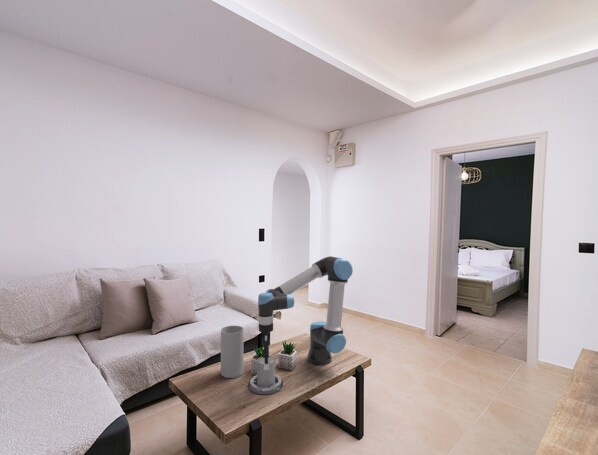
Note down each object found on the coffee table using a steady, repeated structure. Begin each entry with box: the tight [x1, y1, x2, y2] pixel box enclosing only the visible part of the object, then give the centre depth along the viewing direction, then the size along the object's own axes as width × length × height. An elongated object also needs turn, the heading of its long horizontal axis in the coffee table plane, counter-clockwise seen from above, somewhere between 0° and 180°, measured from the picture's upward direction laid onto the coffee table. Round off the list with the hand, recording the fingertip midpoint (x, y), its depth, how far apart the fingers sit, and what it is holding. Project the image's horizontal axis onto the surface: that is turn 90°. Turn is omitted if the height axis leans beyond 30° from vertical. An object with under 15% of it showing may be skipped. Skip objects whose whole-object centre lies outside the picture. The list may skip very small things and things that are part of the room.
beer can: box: [256, 355, 276, 387], centre depth 165 cm, size 10×10×12 cm
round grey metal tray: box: [248, 373, 284, 396], centre depth 165 cm, size 18×18×2 cm
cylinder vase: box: [220, 325, 244, 379], centre depth 178 cm, size 12×12×25 cm
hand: (266, 363), depth 165 cm, fingers open, 13 cm apart
